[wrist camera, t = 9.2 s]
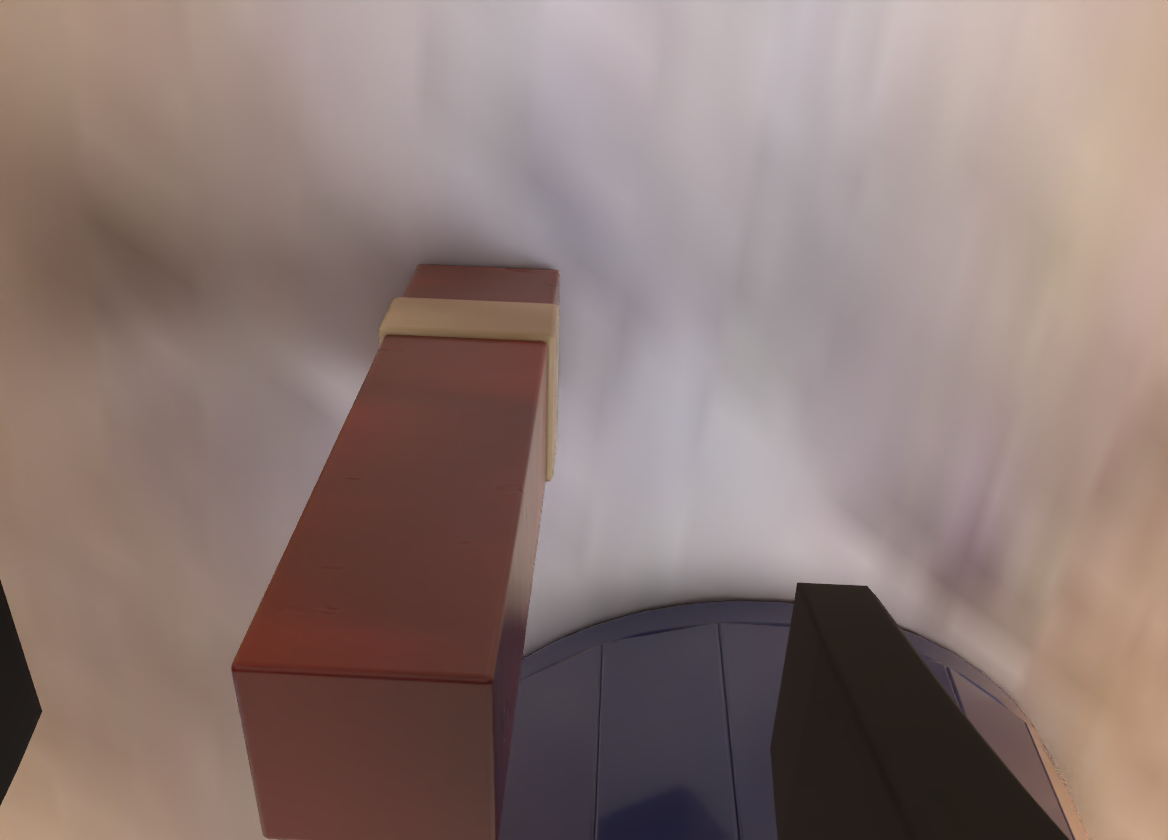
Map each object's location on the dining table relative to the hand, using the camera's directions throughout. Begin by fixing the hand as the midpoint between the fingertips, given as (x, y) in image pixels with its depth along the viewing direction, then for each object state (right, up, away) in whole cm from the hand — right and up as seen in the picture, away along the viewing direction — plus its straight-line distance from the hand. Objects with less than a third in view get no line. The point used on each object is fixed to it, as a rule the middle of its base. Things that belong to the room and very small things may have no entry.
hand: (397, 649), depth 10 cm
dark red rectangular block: (0, +3, +6) cm, 7 cm away
